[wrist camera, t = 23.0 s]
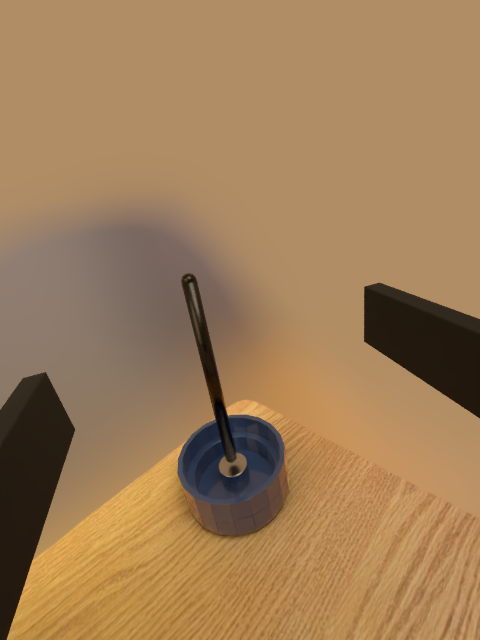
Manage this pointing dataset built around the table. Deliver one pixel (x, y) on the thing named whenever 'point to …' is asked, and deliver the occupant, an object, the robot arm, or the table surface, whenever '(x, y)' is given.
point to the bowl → (206, 483)
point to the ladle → (215, 391)
